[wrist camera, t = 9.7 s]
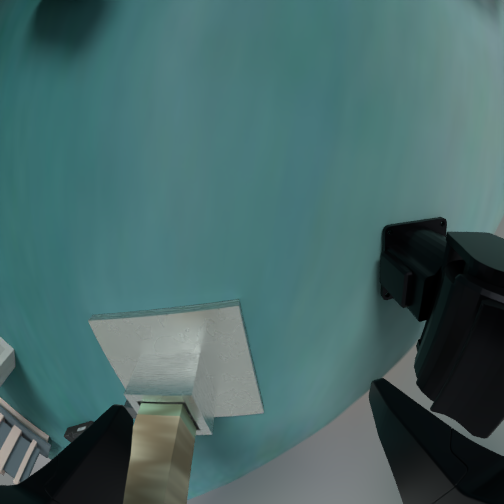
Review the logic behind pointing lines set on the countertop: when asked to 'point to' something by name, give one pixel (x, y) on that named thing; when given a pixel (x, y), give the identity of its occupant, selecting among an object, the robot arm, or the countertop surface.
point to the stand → (183, 360)
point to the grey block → (6, 360)
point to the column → (160, 455)
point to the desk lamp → (19, 444)
